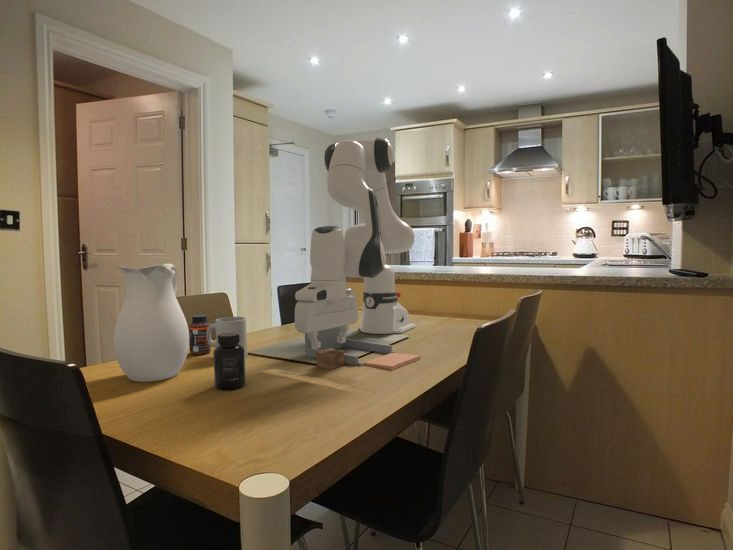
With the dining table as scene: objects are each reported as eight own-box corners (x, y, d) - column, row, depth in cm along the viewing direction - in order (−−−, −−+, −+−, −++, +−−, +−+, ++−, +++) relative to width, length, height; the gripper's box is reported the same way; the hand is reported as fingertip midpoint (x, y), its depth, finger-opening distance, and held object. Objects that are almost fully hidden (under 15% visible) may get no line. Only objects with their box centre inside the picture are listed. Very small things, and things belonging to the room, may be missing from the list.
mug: (252, 353, 140) (251, 316, 139) (238, 361, 132) (236, 321, 131) (215, 352, 143) (214, 316, 142) (199, 359, 134) (198, 320, 134)
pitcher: (173, 385, 109) (167, 265, 107) (101, 386, 110) (94, 266, 108) (209, 360, 133) (205, 260, 131) (150, 360, 134) (145, 261, 132)
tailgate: (363, 362, 121) (392, 366, 115) (392, 352, 131) (420, 355, 126) (363, 366, 121) (392, 370, 115) (392, 356, 131) (420, 359, 126)
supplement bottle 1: (198, 356, 138) (197, 317, 137) (185, 354, 141) (183, 316, 140) (215, 352, 143) (213, 314, 142) (202, 350, 146) (200, 313, 145)
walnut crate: (329, 367, 124) (329, 348, 124) (344, 370, 121) (344, 350, 121) (316, 371, 120) (316, 352, 120) (331, 374, 117) (331, 354, 117)
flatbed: (305, 359, 132) (304, 324, 131) (343, 349, 144) (342, 316, 144) (360, 370, 120) (359, 331, 119) (396, 357, 132) (395, 322, 132)
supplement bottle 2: (251, 383, 111) (250, 332, 110) (234, 392, 104) (232, 338, 103) (227, 380, 113) (225, 330, 112) (208, 389, 106) (206, 336, 106)
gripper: (345, 287, 129) (346, 337, 130) (289, 293, 113) (291, 351, 114) (363, 288, 125) (364, 340, 126) (308, 295, 109) (309, 354, 110)
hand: (329, 345), depth 120 cm, fingers open, 8 cm apart
